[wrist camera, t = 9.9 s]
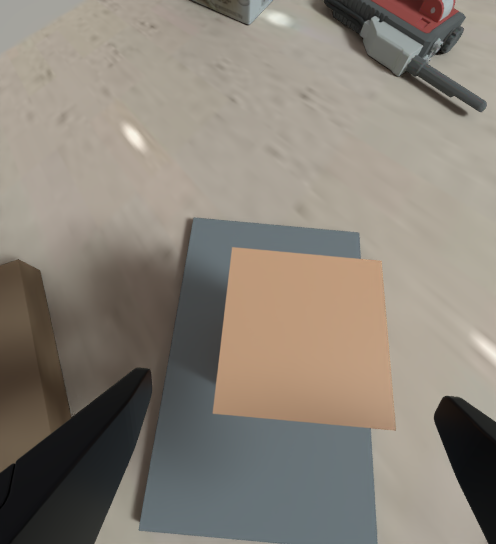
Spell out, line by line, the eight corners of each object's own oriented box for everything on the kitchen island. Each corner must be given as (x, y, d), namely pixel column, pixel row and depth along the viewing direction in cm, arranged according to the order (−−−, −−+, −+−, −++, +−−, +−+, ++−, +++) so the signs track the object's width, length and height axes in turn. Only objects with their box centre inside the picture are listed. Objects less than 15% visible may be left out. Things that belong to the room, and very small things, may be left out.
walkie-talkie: (306, 20, 30) (465, 128, 25) (317, -37, 26) (510, 80, 21) (358, -9, 32) (513, 85, 27) (376, -66, 28) (562, 33, 23)
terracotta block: (304, 397, 16) (396, 430, 7) (227, 390, 16) (212, 413, 7) (305, 320, 18) (381, 260, 8) (235, 313, 18) (232, 247, 8)
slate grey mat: (372, 545, 14) (378, 552, 14) (142, 524, 14) (138, 530, 14) (355, 236, 21) (359, 232, 20) (194, 221, 21) (193, 217, 20)
